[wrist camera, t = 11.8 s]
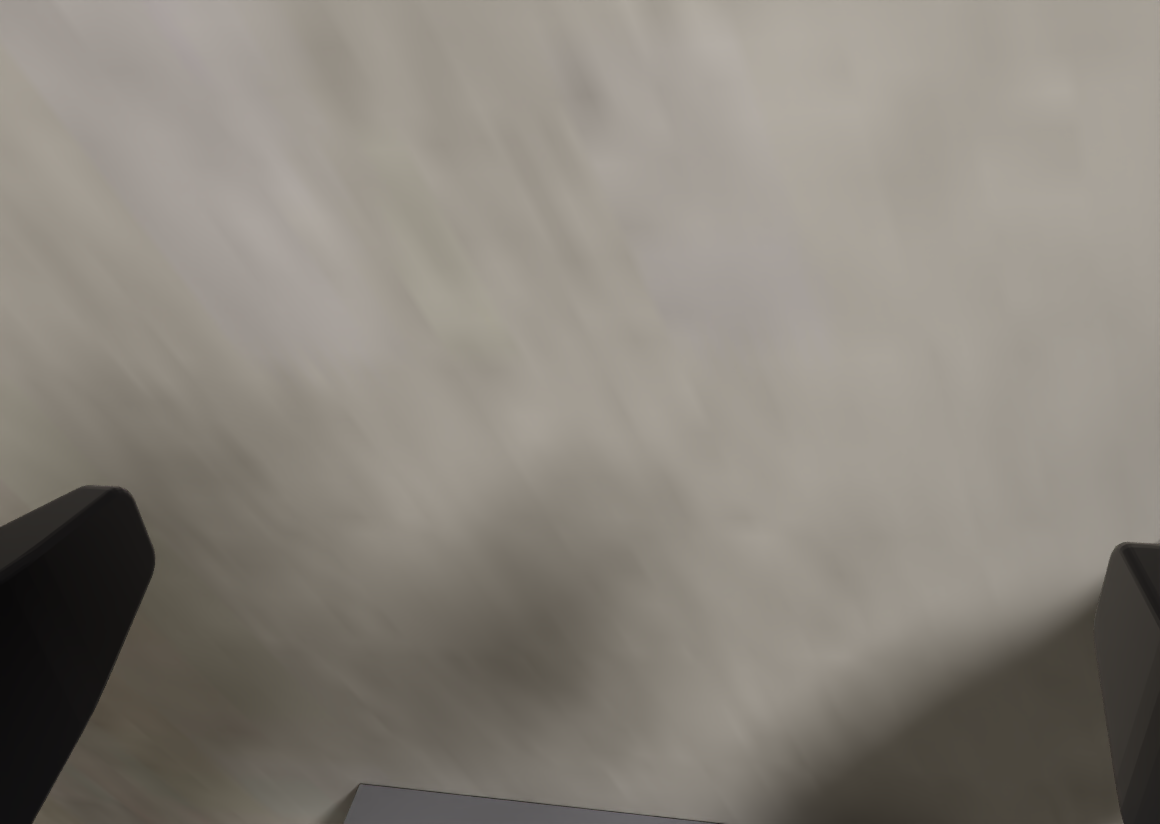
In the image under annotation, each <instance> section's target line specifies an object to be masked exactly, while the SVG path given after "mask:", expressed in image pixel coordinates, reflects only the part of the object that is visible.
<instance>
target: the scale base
mask: <svg viewBox="0 0 1160 824" xmlns="http://www.w3.org/2000/svg"><path fill="white" fill-rule="evenodd" d="M343 824H716V823H707V822H698V821H689V820H680V819H671V818H662V817H653V816H644V815H635V814H626V813H617V812H608V811H599V810H590V809H581V808H572V807H563V806H554V805H545V804H535V803H526V802H517V801H508V800H499V799H490V798H481V797H472V796H463V795H454V794H445V793H436V792H427V791H418V790H409V789H400V788H391V787H382V786H373V785H364V784H360V785H359V787H358V790H357V792H356V795H355V797H354V799H353V802H352V804H351V807H350V809H349V811H348V814H347V816H346V818H345V821H344V823H343Z"/></svg>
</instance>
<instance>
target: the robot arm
mask: <svg viewBox="0 0 1160 824" xmlns="http://www.w3.org/2000/svg"><path fill="white" fill-rule="evenodd" d="M154 567H155V553H154V548H153V545H152V543H151V540H150V538H149V535H148V533H147V530H146V528H145V525H144V522H143V520H142V517H141V515H140V512H139V510H138V507H137V505H136V502H135V500H134V498H133V496H132V495H131V494H130V493H129V492H128V491H127V490H126V489H124V488H121V487H117V486H99V485H87V486H82V487H80V488H77V489H75V490H73V491H71V492H69V493H67V494H65V495H63V496H61V497H59V498H57V499H55V500H53V501H51V502H49V503H47V504H45V505H43V506H41V507H39V508H37V509H35V510H33V511H31V512H29V513H27V514H25V515H23V516H21V517H19V518H17V519H15V520H13V521H11V522H9V523H7V524H5V525H4V526H2V527H0V824H32V823H33V821H34V820H35V818H36V816H37V814H38V812H39V811H40V809H41V807H42V805H43V803H44V802H45V800H46V798H47V796H48V794H49V792H50V791H51V789H52V787H53V785H54V783H55V782H56V780H57V778H58V776H59V774H60V772H61V771H62V769H63V767H64V765H65V763H66V762H67V760H68V758H69V756H70V754H71V752H72V751H73V749H74V747H75V745H76V743H77V742H78V740H79V738H80V736H81V734H82V733H83V731H84V729H85V727H86V725H87V723H88V721H89V719H90V717H91V715H92V713H93V711H94V710H95V708H96V705H97V703H98V701H99V699H100V697H101V694H102V692H103V690H104V688H105V686H106V684H107V681H108V679H109V676H110V674H111V672H112V669H113V667H114V665H115V662H116V660H117V658H118V655H119V653H120V651H121V648H122V646H123V644H124V641H125V639H126V637H127V634H128V632H129V629H130V627H131V625H132V622H133V620H134V618H135V615H136V613H137V611H138V608H139V606H140V604H141V601H142V599H143V597H144V594H145V592H146V590H147V587H148V585H149V582H150V580H151V578H152V575H153V571H154ZM1094 642H1095V650H1096V656H1097V663H1098V669H1099V676H1100V683H1101V689H1102V696H1103V703H1104V709H1105V716H1106V722H1107V729H1108V736H1109V742H1110V749H1111V756H1112V762H1113V769H1114V775H1115V782H1116V788H1117V794H1118V800H1119V805H1120V811H1121V815H1122V819H1123V823H1124V824H1160V544H1152V543H1134V542H1123V543H1121V544H1119V545H1117V546H1116V547H1115V549H1114V550H1113V552H1112V554H1111V556H1110V560H1109V564H1108V567H1107V571H1106V575H1105V579H1104V583H1103V587H1102V591H1101V594H1100V598H1099V602H1098V606H1097V610H1096V614H1095V621H1094Z"/></svg>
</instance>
